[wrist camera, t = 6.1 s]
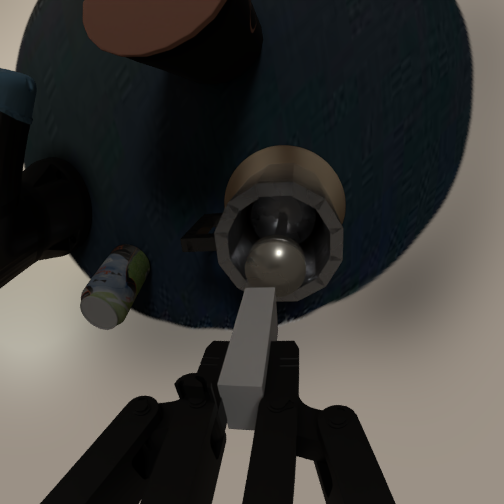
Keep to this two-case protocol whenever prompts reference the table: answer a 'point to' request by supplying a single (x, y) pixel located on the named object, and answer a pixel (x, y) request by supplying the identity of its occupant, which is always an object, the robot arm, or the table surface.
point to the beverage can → (114, 287)
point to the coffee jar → (179, 35)
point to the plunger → (279, 243)
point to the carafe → (244, 237)
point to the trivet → (289, 156)
